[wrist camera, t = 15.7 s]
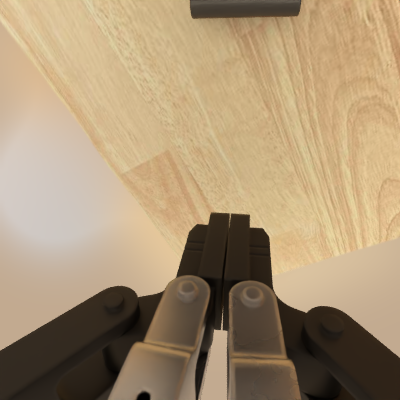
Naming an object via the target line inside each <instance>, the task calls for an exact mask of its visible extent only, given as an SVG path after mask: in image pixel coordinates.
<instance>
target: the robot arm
mask: <svg viewBox="0 0 400 400" xmlns="http://www.w3.org/2000/svg"><path fill="white" fill-rule="evenodd" d="M229 223H230V228H229ZM222 313H223V330H226V331H228V337H227V400H400V358H399V357H398V356H397V355H396V354H394V353H393V352H392V351H391V350H390V349H388V348H387V347H386V346H385V345H383V344H382V343H381V342H380V341H379V340H377V339H376V338H375V337H374V336H373V335H371V334H370V333H369V332H368V331H366V330H365V329H364V328H363V327H362V326H360V325H359V324H358V323H357V322H356V321H354V320H353V319H352V318H351V317H350V316H348V315H347V314H346V313H344V312H342V311H341V310H338V309H336V308H333V307H328V306H318V307H315V308H312V309H311V310H309V311H308V312H307V313H305V312H303V311H300V310H297V309H294V308H292V307H290V306H288V305H286V304H285V303H283V302H282V301H281V300H280V299H279V298H278V297H277V296H276V294H275V292H274V290H273V285H272V270H271V257H270V242H269V236H268V235H267V233H266V232H265V231H264V229H263V228H250V215H247V214H231V219H230V214H229V213H212V212H211V215H210V220H209V224H208V225H202V224H197V225H196V226H195V227H194V228H193V229H192V230H191V231H190V232H189V235H188V238H187V243H186V245H185V250H184V252H183V255H182V259H181V262H180V266H179V269H178V273H177V277H176V278H175V279H173V280H172V281H171V282H170V283H169V284H168V285H167V287H166V288H165V290H164V291H163V292H160V293H158V294H154V295H148V296H142V297H137V294H136V293H135V291H133V290H132V289H130V288H128V287H125V286H115V287H110V288H107V289H105V290H103V291H101V292H99V293H98V294H96V295H94V296H93V297H91V298H89V299H88V300H86V301H84V302H83V303H81V304H79V305H77V306H76V307H74V308H72V309H71V310H69V311H67V312H65V313H64V314H62V315H60V316H59V317H57V318H55V319H54V320H52V321H50V322H49V323H47V324H45V325H43V326H42V327H40V328H38V329H36V330H35V331H33V332H31V333H30V334H28V335H27V336H25V337H23V338H21V339H20V340H18V341H16V342H14V343H13V344H11V345H9V346H8V347H6V348H4V349H2V350H1V351H0V400H201V395H202V390H203V385H204V381H205V376H206V371H207V366H208V361H209V357H210V351H211V345H212V341H213V333H214V329H215V330H221V322H222Z"/></svg>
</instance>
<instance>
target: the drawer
mask: <svg viewBox="0 0 400 400" xmlns="http://www.w3.org/2000/svg"><path fill="white" fill-rule="evenodd" d="M300 6H301V0H190V10H191V16H192V18H193V19H199V18H244V17H289V16H298V15H299V11H300Z"/></svg>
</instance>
